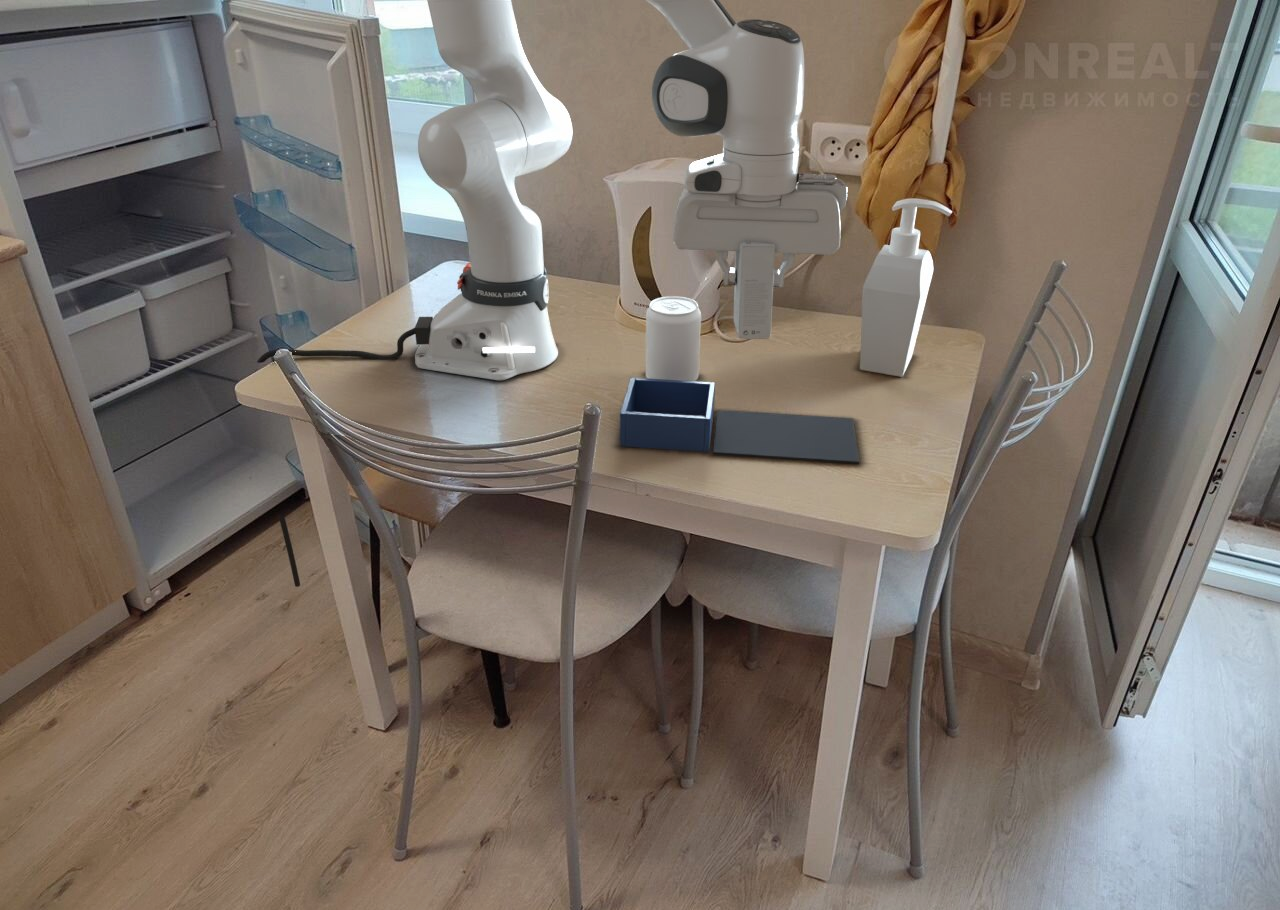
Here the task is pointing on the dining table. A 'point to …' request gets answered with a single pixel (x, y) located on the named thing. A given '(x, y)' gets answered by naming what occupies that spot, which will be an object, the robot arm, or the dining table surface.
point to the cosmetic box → (754, 290)
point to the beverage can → (673, 339)
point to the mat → (785, 437)
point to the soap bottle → (896, 295)
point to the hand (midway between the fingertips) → (753, 284)
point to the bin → (667, 427)
